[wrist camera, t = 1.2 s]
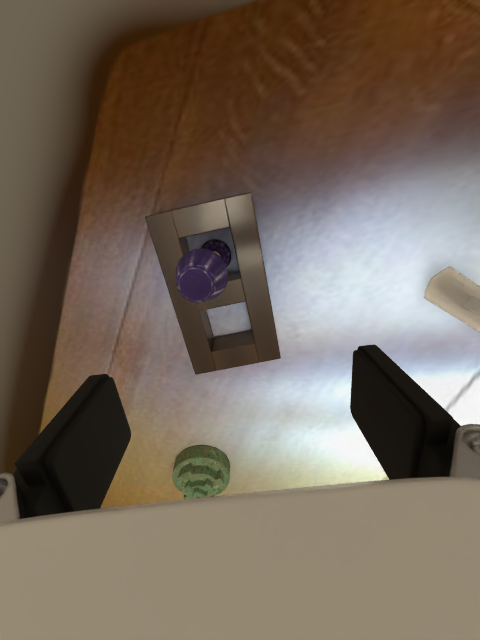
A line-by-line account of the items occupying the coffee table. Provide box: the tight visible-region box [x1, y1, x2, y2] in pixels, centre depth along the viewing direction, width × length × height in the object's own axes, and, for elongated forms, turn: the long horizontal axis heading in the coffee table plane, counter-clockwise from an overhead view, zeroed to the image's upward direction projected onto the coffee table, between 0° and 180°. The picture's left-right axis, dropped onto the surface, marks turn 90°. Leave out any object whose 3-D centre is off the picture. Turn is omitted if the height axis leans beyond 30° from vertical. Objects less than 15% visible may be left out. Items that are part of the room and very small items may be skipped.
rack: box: [145, 192, 281, 374], centre depth 36 cm, size 12×21×4 cm, turn 12°
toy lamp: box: [175, 239, 231, 303], centre depth 29 cm, size 5×5×17 cm
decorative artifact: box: [173, 445, 230, 499], centre depth 48 cm, size 10×7×10 cm
